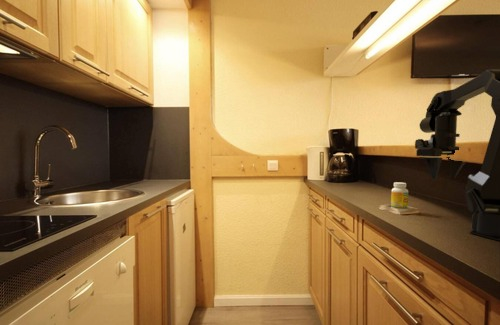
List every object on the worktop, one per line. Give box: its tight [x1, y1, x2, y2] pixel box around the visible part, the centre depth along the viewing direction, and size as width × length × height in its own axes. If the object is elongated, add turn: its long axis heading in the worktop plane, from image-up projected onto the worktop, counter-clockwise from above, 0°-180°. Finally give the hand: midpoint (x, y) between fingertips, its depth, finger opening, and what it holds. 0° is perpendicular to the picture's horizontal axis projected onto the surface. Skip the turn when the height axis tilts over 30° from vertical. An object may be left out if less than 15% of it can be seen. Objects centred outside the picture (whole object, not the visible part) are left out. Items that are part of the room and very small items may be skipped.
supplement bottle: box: [390, 181, 409, 210], centre depth 96 cm, size 5×5×10 cm
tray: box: [379, 203, 420, 216], centre depth 96 cm, size 9×9×1 cm
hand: (443, 178), depth 87 cm, fingers open, 9 cm apart
